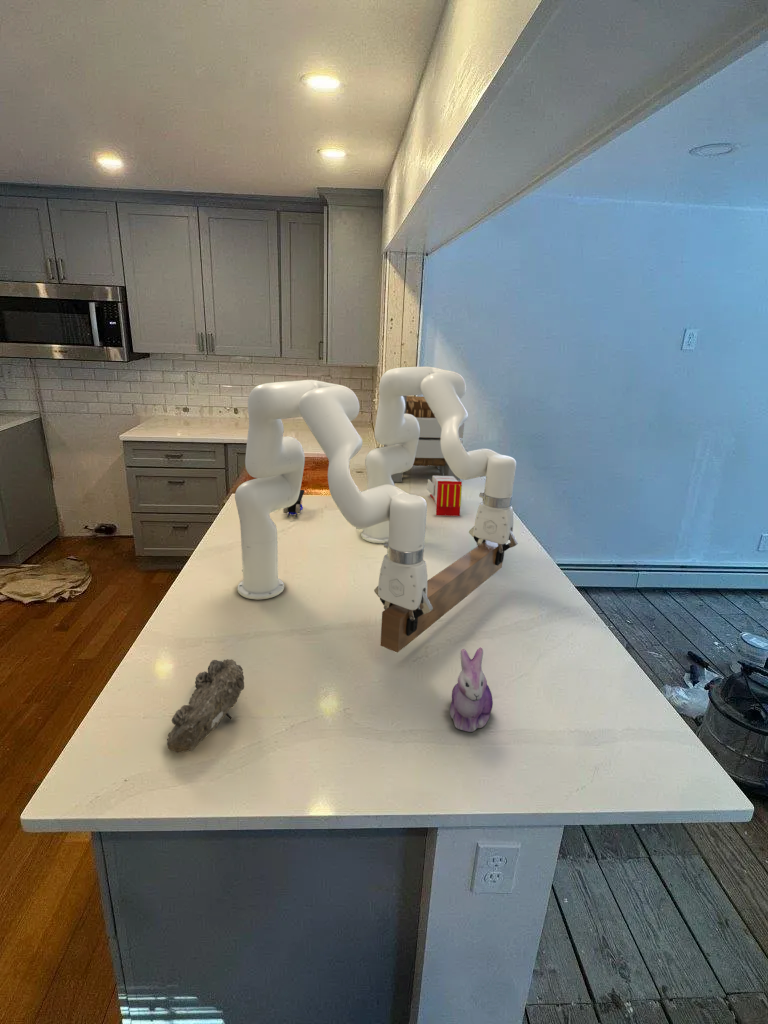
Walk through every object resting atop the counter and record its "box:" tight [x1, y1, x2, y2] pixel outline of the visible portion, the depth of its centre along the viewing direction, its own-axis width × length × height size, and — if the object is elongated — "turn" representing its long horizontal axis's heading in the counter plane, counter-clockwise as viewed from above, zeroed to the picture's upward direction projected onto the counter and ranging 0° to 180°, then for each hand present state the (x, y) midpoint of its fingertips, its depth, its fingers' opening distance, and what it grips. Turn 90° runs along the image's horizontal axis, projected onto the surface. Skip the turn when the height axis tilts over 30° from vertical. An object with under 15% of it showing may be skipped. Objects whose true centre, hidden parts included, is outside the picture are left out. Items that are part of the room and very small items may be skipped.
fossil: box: [166, 658, 245, 754], centre depth 106 cm, size 22×10×15 cm
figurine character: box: [282, 489, 305, 518], centre depth 214 cm, size 7×8×15 cm
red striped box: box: [426, 475, 463, 517], centre depth 230 cm, size 12×13×30 cm
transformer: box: [383, 395, 465, 483], centre depth 268 cm, size 34×33×41 cm
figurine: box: [449, 647, 494, 733], centre depth 108 cm, size 9×10×15 cm
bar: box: [380, 540, 504, 654], centre depth 142 cm, size 55×4×8 cm, turn 145°
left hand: (400, 628), depth 125 cm, fingers closed on bar, 4 cm apart
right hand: (489, 560), depth 161 cm, fingers closed on bar, 4 cm apart
